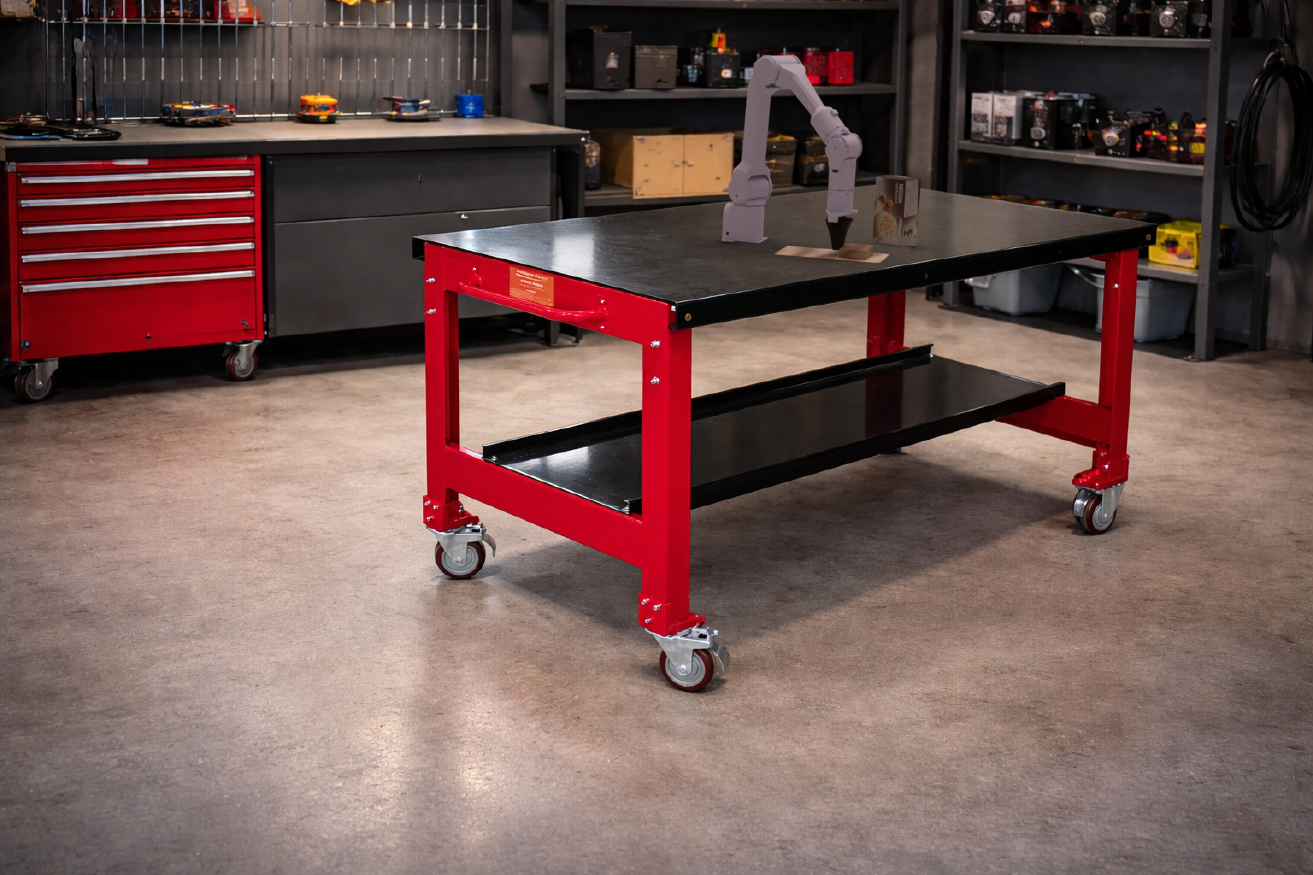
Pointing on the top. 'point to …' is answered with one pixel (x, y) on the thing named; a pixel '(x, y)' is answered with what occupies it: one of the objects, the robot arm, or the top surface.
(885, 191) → the coffee box
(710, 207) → the top surface
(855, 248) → the stub tile
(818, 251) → the pale wooden flat slab
